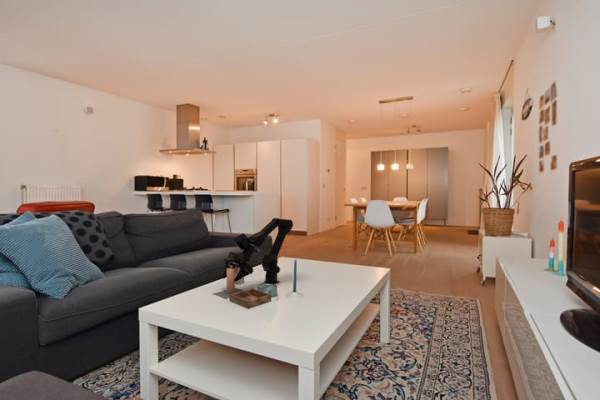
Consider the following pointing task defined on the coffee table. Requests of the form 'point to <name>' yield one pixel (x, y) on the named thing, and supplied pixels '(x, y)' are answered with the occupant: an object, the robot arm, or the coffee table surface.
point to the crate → (250, 298)
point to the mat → (224, 293)
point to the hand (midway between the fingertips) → (228, 279)
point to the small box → (236, 275)
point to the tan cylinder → (230, 280)
